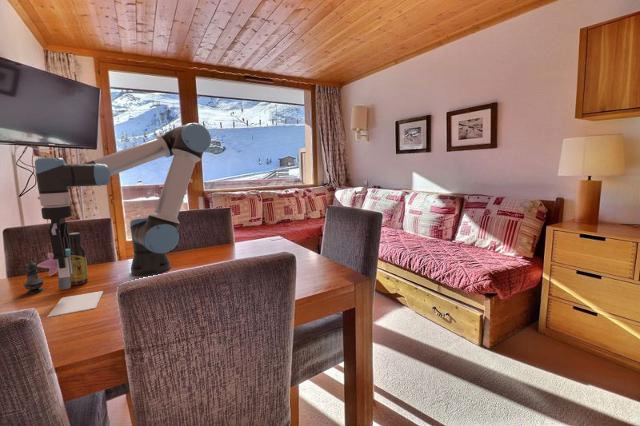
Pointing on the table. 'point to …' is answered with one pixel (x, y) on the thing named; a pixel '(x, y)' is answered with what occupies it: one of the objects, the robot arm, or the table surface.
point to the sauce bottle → (78, 260)
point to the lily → (50, 264)
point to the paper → (76, 303)
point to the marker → (65, 281)
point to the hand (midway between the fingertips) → (66, 275)
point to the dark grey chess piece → (33, 279)
